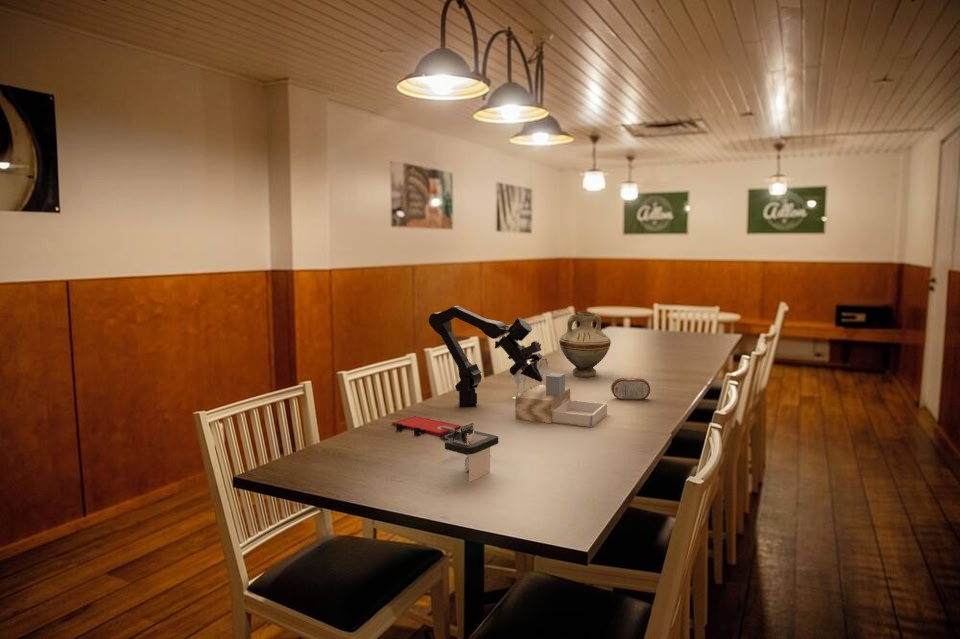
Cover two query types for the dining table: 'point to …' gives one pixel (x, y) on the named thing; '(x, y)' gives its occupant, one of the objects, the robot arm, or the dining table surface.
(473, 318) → the robot arm
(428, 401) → the dining table surface
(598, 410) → the tray
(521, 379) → the goblet set
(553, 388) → the block
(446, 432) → the red board with handle
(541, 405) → the wood grain box
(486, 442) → the black-topped pedestal
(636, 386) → the tin
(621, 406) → the dining table surface
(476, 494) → the dining table surface
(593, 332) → the amphora
